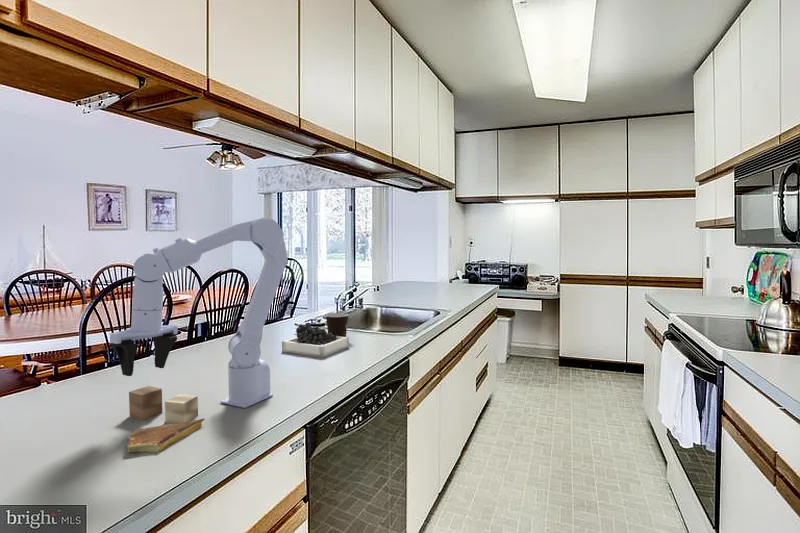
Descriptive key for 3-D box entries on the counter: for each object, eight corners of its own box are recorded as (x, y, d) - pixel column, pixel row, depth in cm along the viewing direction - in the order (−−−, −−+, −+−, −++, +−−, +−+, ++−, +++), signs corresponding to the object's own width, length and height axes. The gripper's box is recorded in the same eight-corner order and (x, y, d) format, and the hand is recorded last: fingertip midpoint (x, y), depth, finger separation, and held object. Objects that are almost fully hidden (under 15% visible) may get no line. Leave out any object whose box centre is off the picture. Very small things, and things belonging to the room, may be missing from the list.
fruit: (336, 319, 158) (294, 320, 154) (339, 330, 151) (295, 332, 146) (334, 339, 161) (293, 341, 157) (338, 352, 154) (294, 354, 149)
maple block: (179, 414, 96) (179, 394, 96) (198, 415, 96) (197, 395, 95) (165, 422, 92) (164, 401, 92) (184, 424, 91) (183, 403, 91)
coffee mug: (341, 344, 162) (341, 317, 161) (321, 342, 165) (321, 316, 165) (355, 337, 173) (355, 312, 172) (336, 336, 176) (336, 311, 175)
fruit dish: (310, 342, 165) (310, 332, 165) (348, 347, 158) (348, 337, 157) (282, 351, 151) (281, 341, 151) (322, 357, 143) (322, 346, 143)
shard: (204, 426, 91) (204, 416, 91) (207, 445, 83) (207, 434, 83) (131, 439, 85) (130, 428, 85) (126, 460, 77) (126, 448, 77)
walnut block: (149, 409, 99) (148, 385, 99) (162, 413, 97) (161, 388, 97) (129, 416, 95) (128, 391, 95) (142, 420, 93) (142, 395, 93)
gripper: (163, 304, 103) (160, 361, 103) (101, 310, 89) (97, 375, 89) (185, 307, 100) (182, 366, 100) (125, 314, 86) (121, 381, 87)
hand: (144, 371), depth 95 cm, fingers open, 7 cm apart
